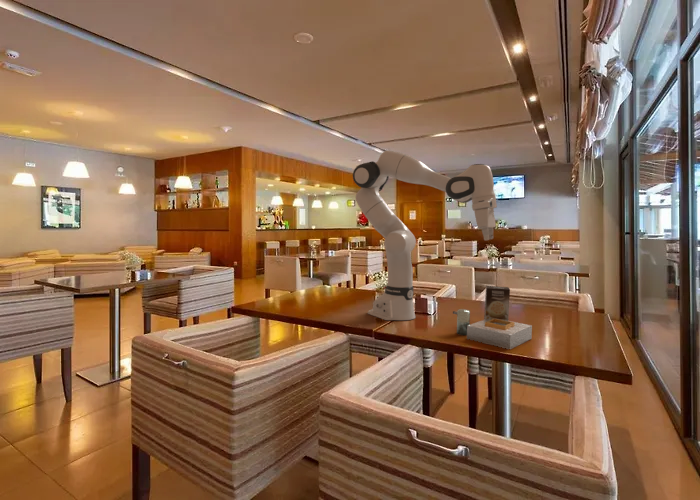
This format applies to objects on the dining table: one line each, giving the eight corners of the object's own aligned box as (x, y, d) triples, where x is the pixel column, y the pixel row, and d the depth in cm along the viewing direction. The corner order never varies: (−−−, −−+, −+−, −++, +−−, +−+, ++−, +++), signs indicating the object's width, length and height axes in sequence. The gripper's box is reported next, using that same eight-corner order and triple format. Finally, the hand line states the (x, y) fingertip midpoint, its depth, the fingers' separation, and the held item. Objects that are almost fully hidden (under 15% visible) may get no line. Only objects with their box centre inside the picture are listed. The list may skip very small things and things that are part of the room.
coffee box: (484, 326, 158) (485, 287, 157) (483, 322, 164) (485, 285, 163) (508, 328, 155) (510, 289, 154) (506, 324, 161) (508, 286, 160)
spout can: (449, 332, 149) (450, 309, 148) (456, 330, 152) (456, 307, 152) (465, 336, 144) (466, 312, 144) (471, 333, 147) (472, 310, 147)
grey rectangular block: (466, 338, 141) (467, 322, 140) (490, 329, 153) (490, 314, 153) (509, 349, 129) (510, 331, 129) (531, 338, 141) (532, 322, 141)
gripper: (481, 207, 161) (485, 239, 161) (470, 205, 143) (475, 241, 143) (496, 204, 158) (501, 237, 158) (488, 202, 140) (493, 239, 140)
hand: (488, 239), depth 151 cm, fingers open, 8 cm apart
